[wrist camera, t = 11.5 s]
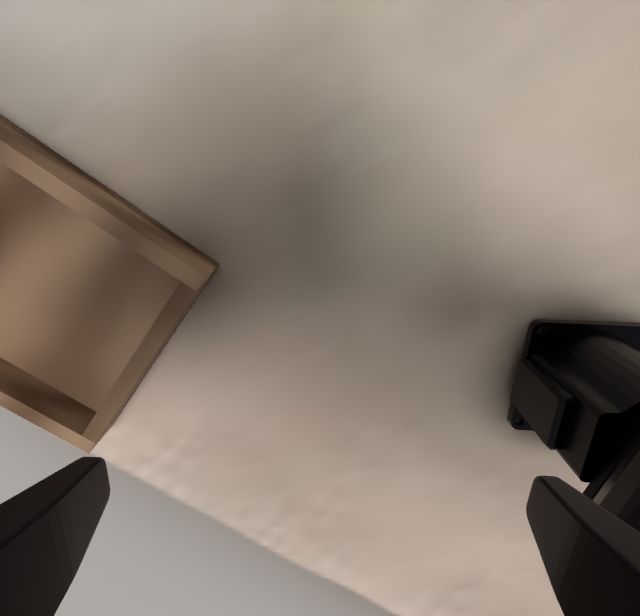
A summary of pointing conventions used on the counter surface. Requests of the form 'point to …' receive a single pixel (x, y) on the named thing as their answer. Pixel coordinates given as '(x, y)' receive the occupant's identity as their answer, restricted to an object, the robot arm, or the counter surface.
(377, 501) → the counter surface
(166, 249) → the tray
